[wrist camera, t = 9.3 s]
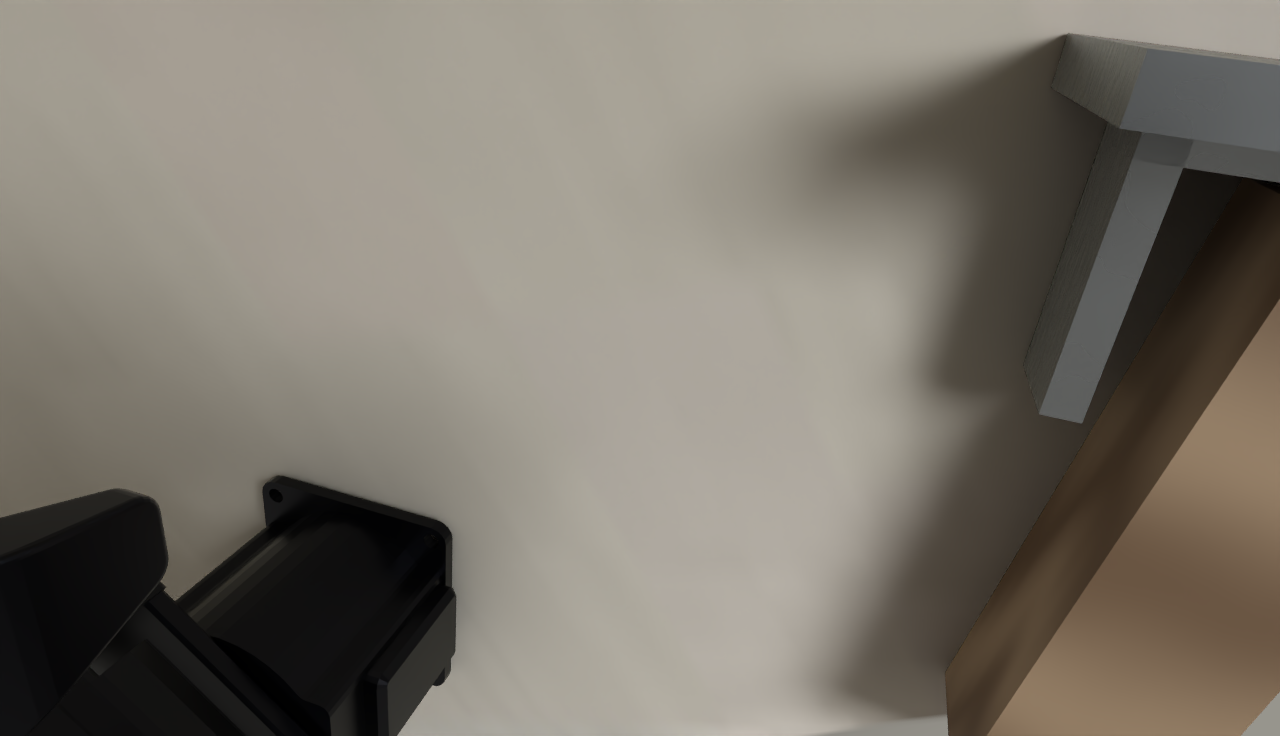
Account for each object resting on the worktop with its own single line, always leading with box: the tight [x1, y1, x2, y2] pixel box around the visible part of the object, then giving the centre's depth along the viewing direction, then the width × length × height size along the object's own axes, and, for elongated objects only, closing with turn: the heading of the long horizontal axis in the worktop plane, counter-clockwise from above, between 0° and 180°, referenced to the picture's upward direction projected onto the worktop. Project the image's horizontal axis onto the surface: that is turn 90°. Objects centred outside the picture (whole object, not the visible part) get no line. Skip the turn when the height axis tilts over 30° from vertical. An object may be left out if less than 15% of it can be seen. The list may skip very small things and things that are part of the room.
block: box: [945, 177, 1280, 736], centre depth 17 cm, size 14×4×4 cm, turn 166°
